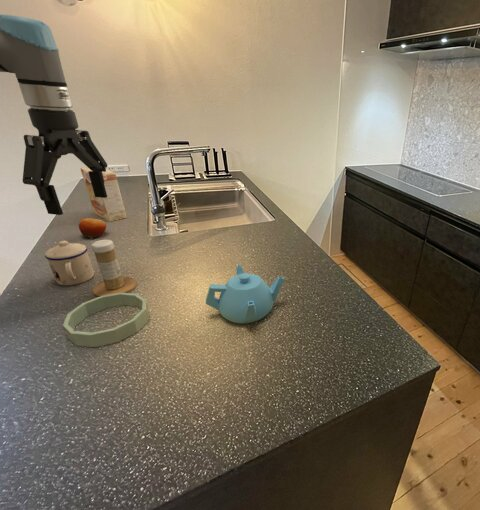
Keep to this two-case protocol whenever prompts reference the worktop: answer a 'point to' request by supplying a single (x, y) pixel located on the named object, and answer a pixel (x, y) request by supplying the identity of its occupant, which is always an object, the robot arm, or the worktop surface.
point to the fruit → (92, 227)
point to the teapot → (244, 297)
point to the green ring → (109, 334)
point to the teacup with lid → (70, 263)
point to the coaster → (126, 288)
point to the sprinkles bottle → (108, 264)
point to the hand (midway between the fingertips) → (80, 204)
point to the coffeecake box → (110, 205)
